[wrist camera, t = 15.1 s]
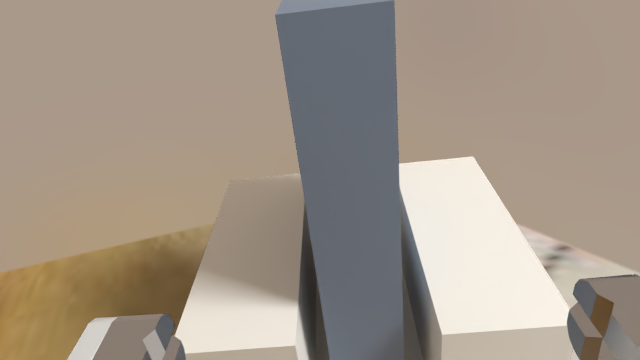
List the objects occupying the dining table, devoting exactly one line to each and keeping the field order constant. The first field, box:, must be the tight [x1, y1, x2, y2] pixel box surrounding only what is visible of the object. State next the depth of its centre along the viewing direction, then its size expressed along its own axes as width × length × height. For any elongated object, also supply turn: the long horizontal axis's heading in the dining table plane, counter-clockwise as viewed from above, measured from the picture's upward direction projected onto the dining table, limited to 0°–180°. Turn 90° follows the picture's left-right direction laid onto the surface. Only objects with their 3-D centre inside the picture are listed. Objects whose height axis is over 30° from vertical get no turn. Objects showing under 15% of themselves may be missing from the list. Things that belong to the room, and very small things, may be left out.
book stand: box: [175, 157, 573, 360], centre depth 22 cm, size 14×12×7 cm
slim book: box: [275, 0, 404, 360], centre depth 19 cm, size 3×9×16 cm, turn 0°
